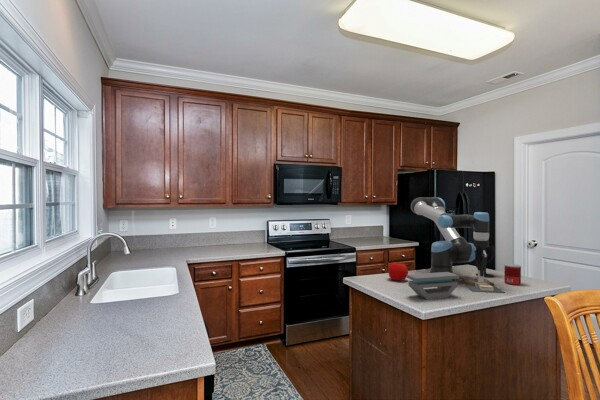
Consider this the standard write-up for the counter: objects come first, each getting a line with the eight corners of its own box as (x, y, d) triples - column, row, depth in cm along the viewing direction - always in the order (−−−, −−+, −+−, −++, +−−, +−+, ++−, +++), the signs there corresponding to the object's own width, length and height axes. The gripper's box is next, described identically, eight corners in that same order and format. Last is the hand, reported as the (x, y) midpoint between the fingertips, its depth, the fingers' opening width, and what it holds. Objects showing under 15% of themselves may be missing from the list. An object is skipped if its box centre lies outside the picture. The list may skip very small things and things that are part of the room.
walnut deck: (467, 285, 183) (467, 282, 183) (461, 281, 193) (461, 278, 193) (493, 287, 181) (493, 283, 181) (486, 282, 191) (486, 279, 191)
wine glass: (474, 276, 206) (475, 244, 206) (476, 273, 214) (477, 243, 214) (493, 278, 200) (494, 246, 200) (495, 275, 208) (495, 244, 208)
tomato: (384, 278, 199) (384, 260, 199) (400, 277, 202) (400, 259, 202) (395, 283, 188) (395, 264, 188) (412, 281, 191) (412, 263, 191)
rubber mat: (472, 291, 172) (472, 290, 172) (465, 285, 183) (465, 285, 183) (504, 292, 170) (504, 292, 170) (495, 287, 181) (495, 286, 181)
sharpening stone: (447, 292, 171) (447, 271, 170) (458, 296, 163) (458, 275, 163) (406, 296, 164) (406, 274, 164) (415, 300, 156) (416, 278, 156)
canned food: (523, 286, 183) (523, 266, 183) (507, 285, 185) (507, 266, 185) (517, 282, 191) (517, 263, 191) (502, 281, 193) (502, 263, 192)
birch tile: (493, 290, 172) (493, 287, 172) (481, 290, 173) (481, 286, 173) (486, 286, 181) (486, 282, 181) (475, 285, 182) (475, 282, 182)
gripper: (493, 241, 174) (493, 285, 174) (483, 238, 187) (483, 279, 187) (478, 241, 175) (478, 284, 175) (469, 238, 188) (469, 278, 188)
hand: (480, 281), depth 181 cm, fingers closed
